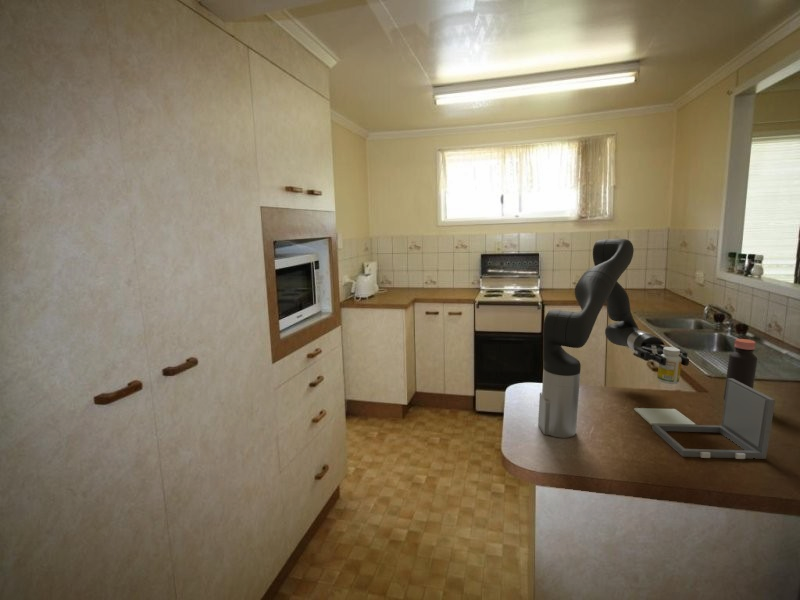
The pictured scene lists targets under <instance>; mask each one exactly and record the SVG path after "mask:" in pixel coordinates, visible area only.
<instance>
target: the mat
mask: <svg viewBox="0 0 800 600" xmlns="http://www.w3.org/2000/svg"><path fill="white" fill-rule="evenodd" d="M633 410H634V411H635V412H636V413H637V414H638V415H639V416H640V417H641V418H643V420H645V421H646V422H648V424H649V425H651V426H652V425H653V424H675V425H697V424H696V423H695V422H693V421H692V420H691V419H690V418H688V417H687V416H686V415H684V414H683V413H681V412H680V411H678V410H677V409H676V408H653V407H652V408H648V407H646V408H645V407H640V408H639V407H633Z"/></svg>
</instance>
